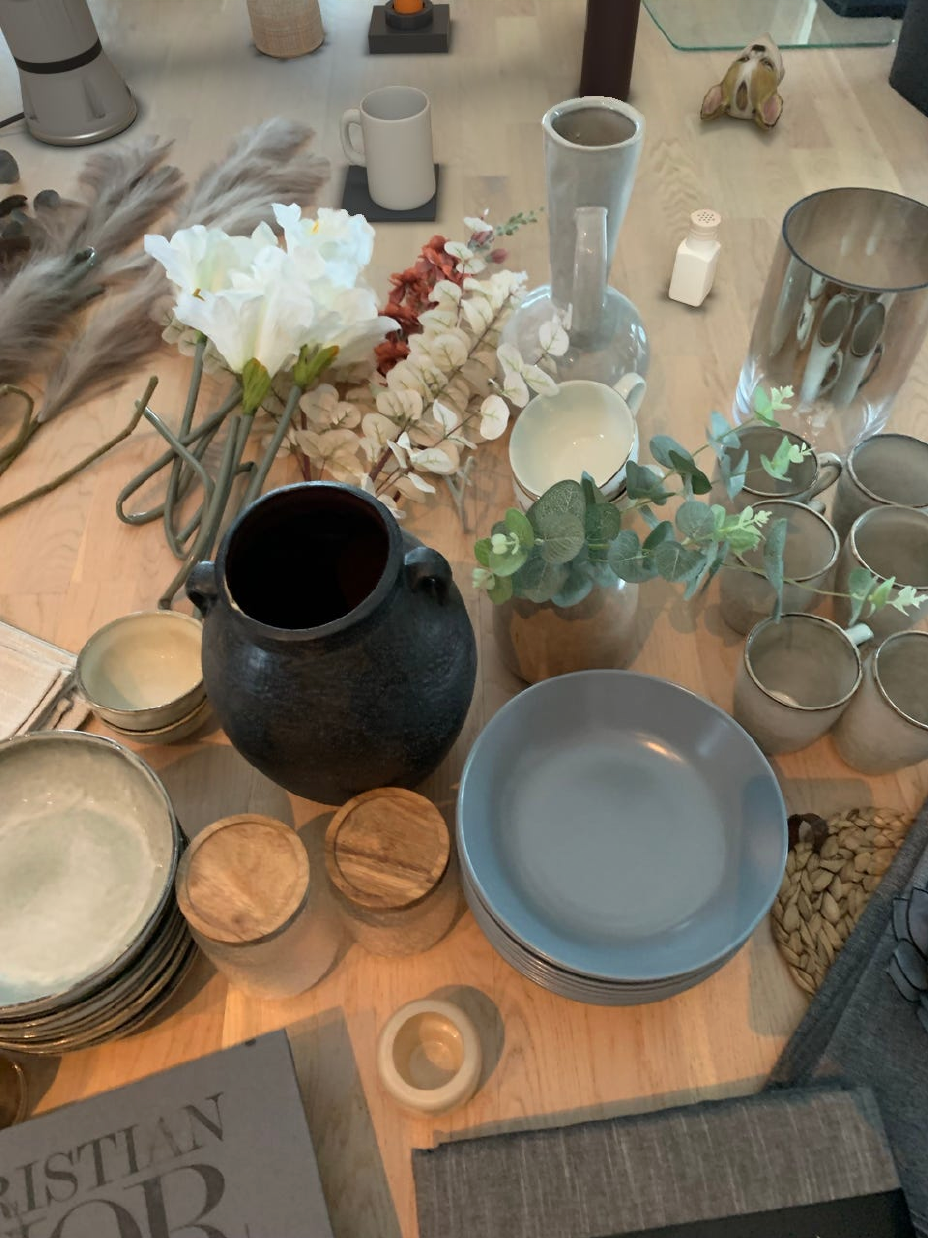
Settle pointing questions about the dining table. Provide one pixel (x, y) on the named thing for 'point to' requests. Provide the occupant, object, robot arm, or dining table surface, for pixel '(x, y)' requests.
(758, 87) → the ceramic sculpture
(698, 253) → the salt shaker
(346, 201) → the coaster
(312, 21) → the planter
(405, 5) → the kettle button
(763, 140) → the dining table surface
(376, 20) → the base
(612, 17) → the wine bottle
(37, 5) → the robot arm
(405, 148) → the mug
